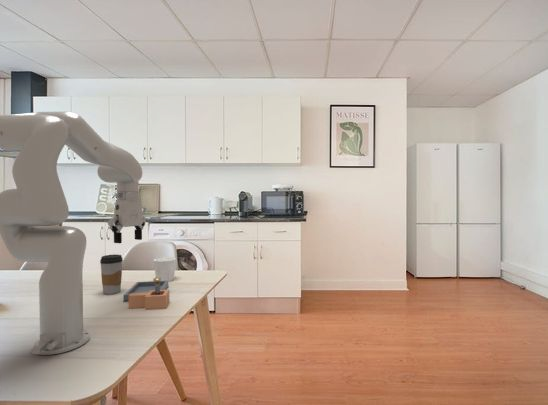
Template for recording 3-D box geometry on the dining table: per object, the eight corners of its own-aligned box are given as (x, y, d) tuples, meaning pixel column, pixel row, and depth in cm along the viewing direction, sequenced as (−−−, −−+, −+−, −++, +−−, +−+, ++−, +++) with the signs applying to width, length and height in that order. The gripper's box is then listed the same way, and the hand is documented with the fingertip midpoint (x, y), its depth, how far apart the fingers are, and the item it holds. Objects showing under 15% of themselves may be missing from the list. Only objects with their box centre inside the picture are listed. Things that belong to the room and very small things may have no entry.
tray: (159, 299, 116) (159, 293, 116) (123, 301, 114) (123, 295, 114) (168, 286, 134) (168, 280, 134) (137, 287, 132) (137, 281, 132)
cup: (148, 281, 141) (148, 260, 141) (163, 276, 150) (162, 256, 150) (166, 283, 138) (166, 262, 137) (180, 278, 147) (180, 257, 147)
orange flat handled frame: (165, 308, 107) (165, 295, 107) (126, 310, 105) (126, 297, 105) (169, 301, 114) (169, 289, 114) (132, 303, 112) (132, 291, 112)
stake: (160, 306, 109) (160, 279, 109) (153, 306, 109) (152, 279, 108) (162, 303, 112) (161, 277, 111) (154, 304, 111) (154, 277, 111)
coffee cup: (113, 296, 120) (113, 258, 120) (95, 294, 122) (95, 257, 122) (127, 289, 129) (127, 254, 128) (110, 288, 130) (110, 253, 130)
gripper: (116, 196, 106) (116, 245, 107) (152, 196, 123) (152, 238, 123) (100, 196, 109) (101, 244, 110) (138, 196, 125) (138, 238, 126)
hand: (128, 241), depth 116 cm, fingers open, 9 cm apart
